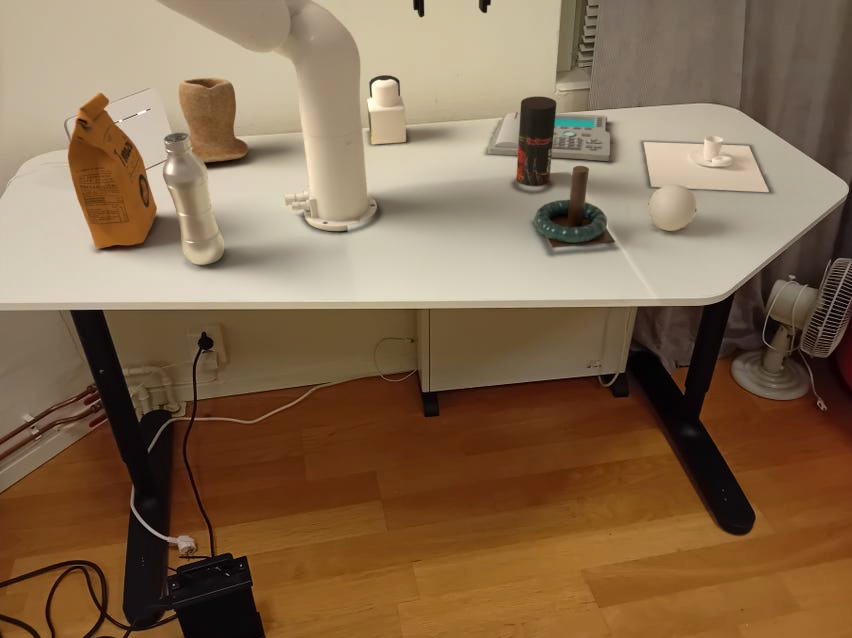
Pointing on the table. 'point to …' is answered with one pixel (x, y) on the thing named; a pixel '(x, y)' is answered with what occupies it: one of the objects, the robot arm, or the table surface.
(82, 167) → the coffee package
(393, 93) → the medicine bottle
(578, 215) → the post
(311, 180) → the robot arm
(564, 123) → the office telephone
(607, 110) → the table surface
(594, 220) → the ring
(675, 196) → the beige ovoid
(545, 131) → the deodorant
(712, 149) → the teacup and saucer
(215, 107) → the tan upright hollow piece
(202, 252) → the plastic bottle
